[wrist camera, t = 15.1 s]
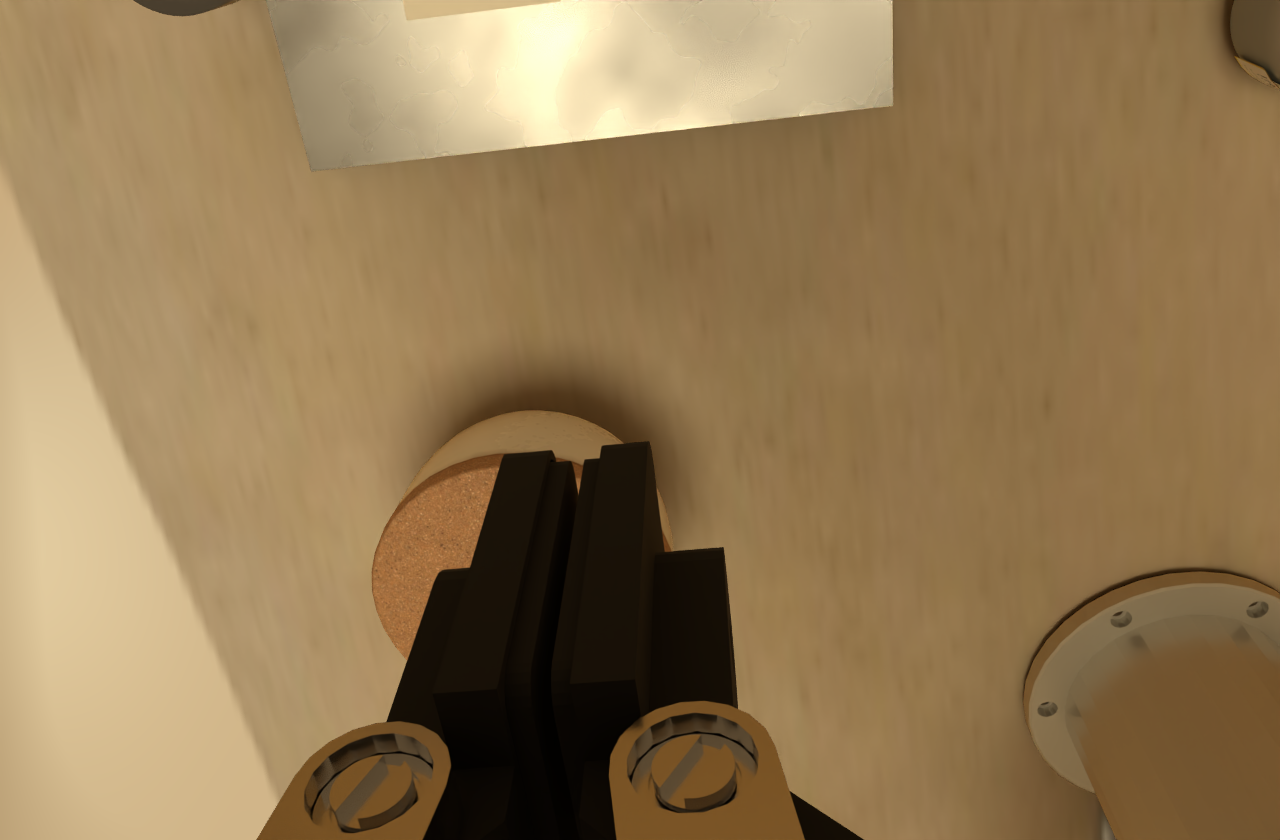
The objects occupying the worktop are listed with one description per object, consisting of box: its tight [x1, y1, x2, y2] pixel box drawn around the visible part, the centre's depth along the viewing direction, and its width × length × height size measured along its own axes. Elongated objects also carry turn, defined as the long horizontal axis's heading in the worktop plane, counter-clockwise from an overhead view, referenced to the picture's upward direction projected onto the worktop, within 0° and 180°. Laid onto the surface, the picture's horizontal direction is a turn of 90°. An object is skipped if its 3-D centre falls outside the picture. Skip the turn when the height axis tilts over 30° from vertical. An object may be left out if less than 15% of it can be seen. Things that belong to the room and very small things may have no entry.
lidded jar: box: [372, 410, 673, 660], centre depth 40 cm, size 11×11×9 cm
